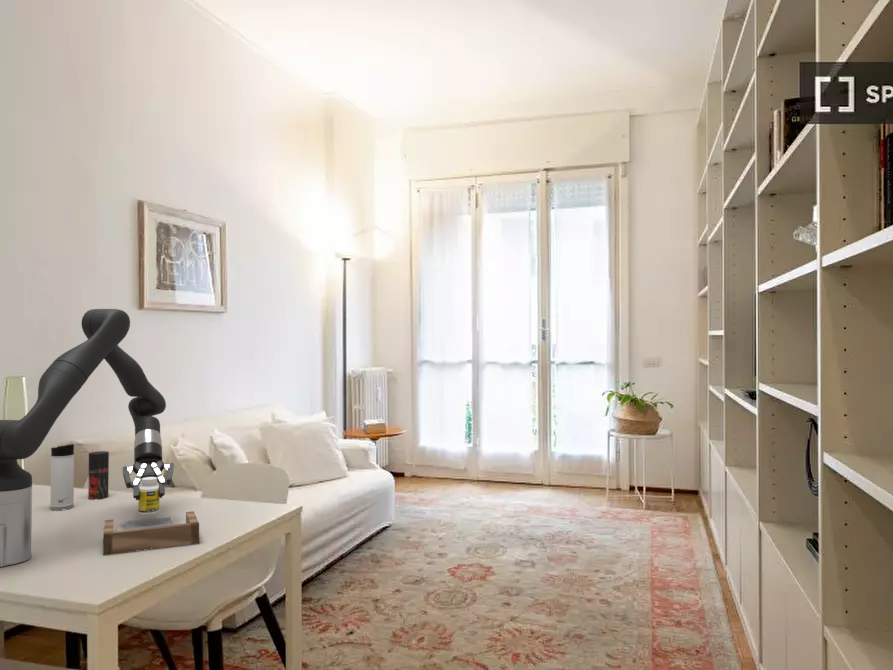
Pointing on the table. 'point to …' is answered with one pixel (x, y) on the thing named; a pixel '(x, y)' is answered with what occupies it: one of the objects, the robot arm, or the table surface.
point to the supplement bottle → (148, 496)
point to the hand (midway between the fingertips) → (149, 497)
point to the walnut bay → (150, 536)
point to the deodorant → (98, 475)
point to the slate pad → (148, 523)
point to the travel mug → (62, 477)
